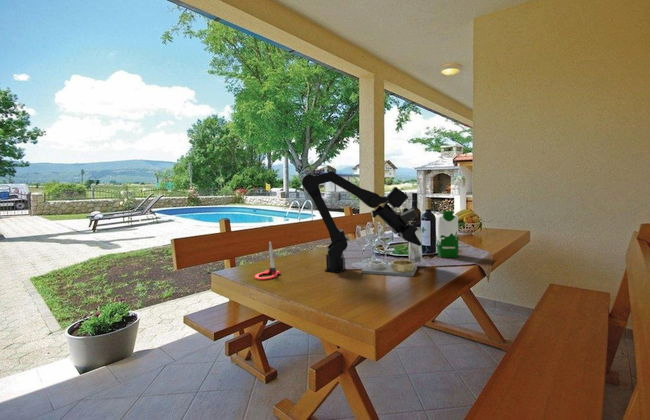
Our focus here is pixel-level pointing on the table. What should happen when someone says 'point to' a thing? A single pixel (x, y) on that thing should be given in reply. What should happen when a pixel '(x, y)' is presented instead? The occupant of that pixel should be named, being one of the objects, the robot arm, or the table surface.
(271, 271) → the tow hook
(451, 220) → the milk carton
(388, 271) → the fitting board
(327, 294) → the table surface
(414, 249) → the disc
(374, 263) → the narrow aluminium socket
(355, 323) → the table surface
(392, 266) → the wide brass socket
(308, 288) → the table surface
